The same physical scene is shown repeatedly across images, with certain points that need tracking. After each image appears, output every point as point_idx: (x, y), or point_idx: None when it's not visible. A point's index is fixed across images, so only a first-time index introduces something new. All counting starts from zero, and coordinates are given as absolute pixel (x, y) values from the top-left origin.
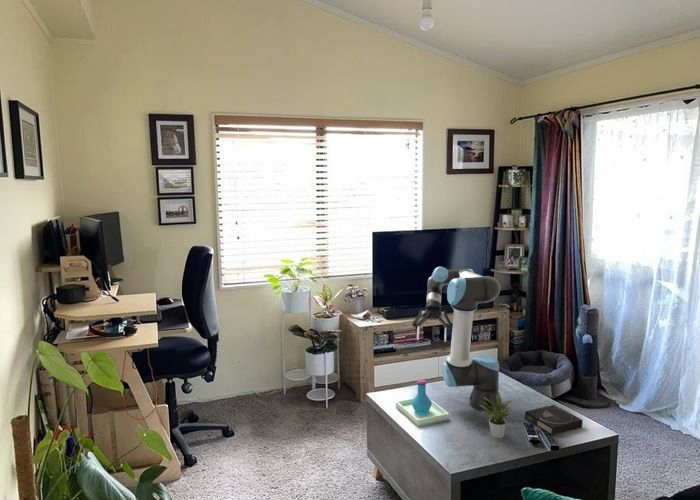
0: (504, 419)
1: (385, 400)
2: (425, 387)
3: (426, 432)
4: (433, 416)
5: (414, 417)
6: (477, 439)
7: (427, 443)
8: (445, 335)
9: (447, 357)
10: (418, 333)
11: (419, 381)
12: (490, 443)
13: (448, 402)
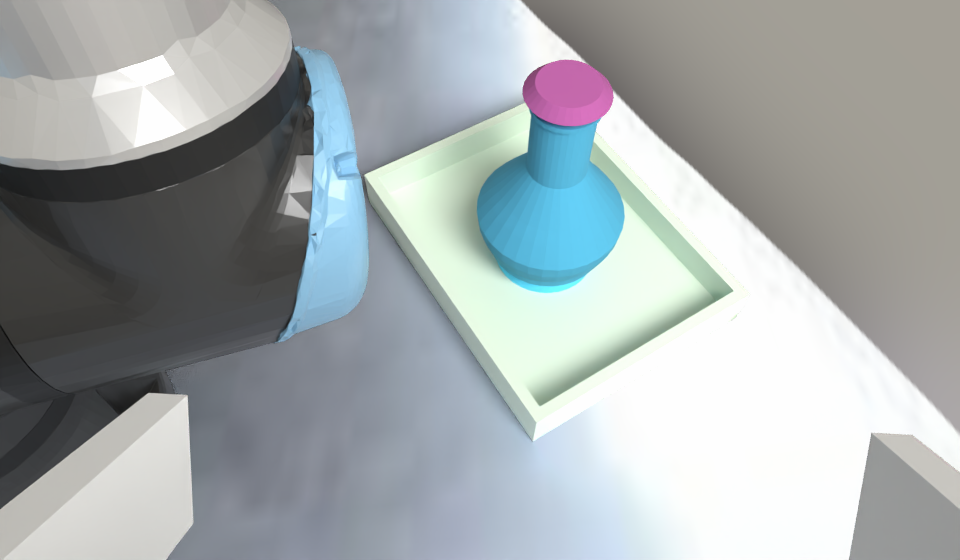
0: None
1: (851, 420)
2: (530, 121)
3: (499, 78)
4: (463, 133)
5: None
6: None
7: (489, 5)
8: (102, 442)
9: (274, 46)
10: (953, 502)
11: (586, 69)
12: None
13: (344, 447)
